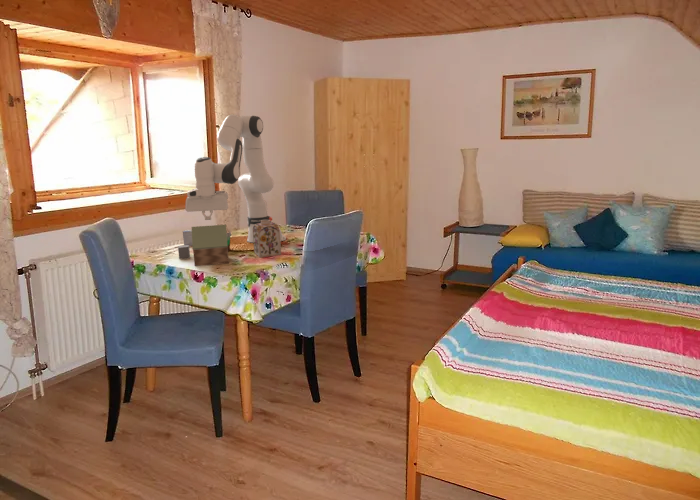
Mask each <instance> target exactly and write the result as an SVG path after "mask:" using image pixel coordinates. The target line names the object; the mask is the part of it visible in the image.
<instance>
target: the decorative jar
mask: <svg viewBox="0 0 700 500" xmlns="http://www.w3.org/2000/svg"><path fill="white" fill-rule="evenodd" d="M278 225H279V224H278V223H276V222H274V221H273V222H272V221H271V222H270V220H261V223H257V224H255V225H254V227H253V242H252V243H253V252H254V254H255V255H256V256H257V257H258V258H266V257H273V256H274V257H275V256H282V247H281V245H282V243H281V242H282V241H280V230H279V228H280V227H279V226H278Z"/></svg>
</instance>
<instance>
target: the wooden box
mask: <svg viewBox="0 0 700 500" xmlns="http://www.w3.org/2000/svg"><path fill="white" fill-rule="evenodd" d="M192 252H193V264H194V267H197V266H196V265H199V266H206V265H207V266H208V265H209V266H210V265H222V264H229V251H228V247H220V248H207V249H192Z"/></svg>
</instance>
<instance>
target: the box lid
mask: <svg viewBox="0 0 700 500" xmlns="http://www.w3.org/2000/svg"><path fill="white" fill-rule="evenodd" d="M191 230H192V246H191V248H192V250H193V249H207V248H220V247H228V246H227V233H228V231H227V225H226V224H217V225H216V224H215V225H199V226H191Z"/></svg>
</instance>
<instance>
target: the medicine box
mask: <svg viewBox="0 0 700 500" xmlns="http://www.w3.org/2000/svg"><path fill="white" fill-rule="evenodd" d="M182 239H183V245H189V247H192V229H185V230H183V231H182Z"/></svg>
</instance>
